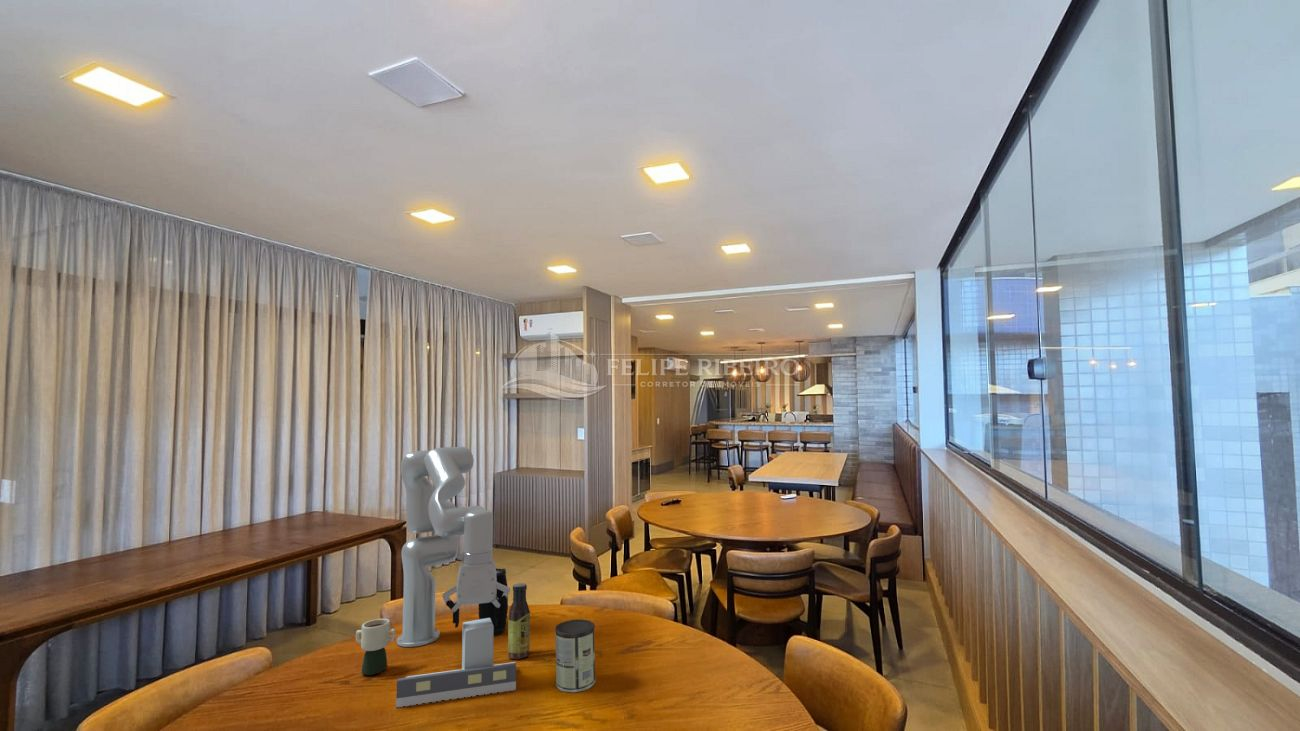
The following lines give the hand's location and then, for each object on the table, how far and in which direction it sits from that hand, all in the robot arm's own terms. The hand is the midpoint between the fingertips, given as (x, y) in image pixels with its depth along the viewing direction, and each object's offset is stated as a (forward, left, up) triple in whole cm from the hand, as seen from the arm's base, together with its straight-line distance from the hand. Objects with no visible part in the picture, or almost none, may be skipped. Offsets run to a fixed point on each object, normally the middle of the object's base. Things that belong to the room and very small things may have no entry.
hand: (476, 623), depth 139 cm
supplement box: (0, +1, -13) cm, 13 cm away
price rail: (+7, -4, -13) cm, 15 cm away
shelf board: (+2, -4, -15) cm, 15 cm away
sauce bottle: (-13, +11, -15) cm, 23 cm away
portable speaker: (-35, +3, -15) cm, 39 cm away
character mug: (-15, -28, -15) cm, 35 cm away
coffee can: (+9, +25, -15) cm, 31 cm away
